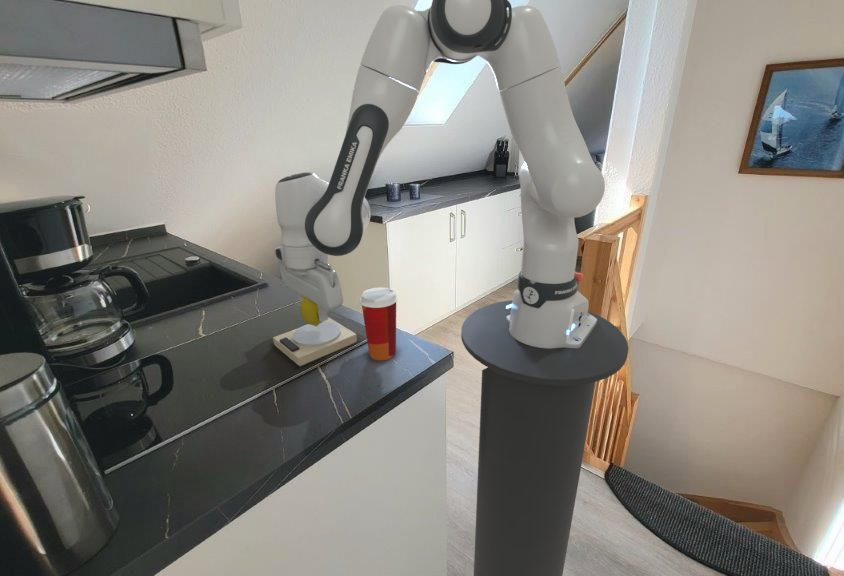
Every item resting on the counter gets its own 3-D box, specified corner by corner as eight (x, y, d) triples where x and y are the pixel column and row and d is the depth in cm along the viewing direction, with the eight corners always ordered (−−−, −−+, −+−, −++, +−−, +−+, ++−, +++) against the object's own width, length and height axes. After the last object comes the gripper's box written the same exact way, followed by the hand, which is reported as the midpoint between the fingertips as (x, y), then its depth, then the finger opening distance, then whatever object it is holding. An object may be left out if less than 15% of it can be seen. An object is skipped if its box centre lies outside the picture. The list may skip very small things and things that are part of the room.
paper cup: (389, 340, 91) (386, 283, 86) (407, 355, 86) (404, 295, 80) (357, 351, 87) (352, 292, 82) (374, 367, 82) (368, 305, 76)
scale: (329, 324, 99) (328, 314, 98) (357, 341, 91) (356, 331, 90) (274, 345, 90) (272, 335, 89) (299, 366, 82) (297, 355, 81)
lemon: (333, 322, 91) (329, 289, 88) (320, 333, 86) (315, 299, 83) (312, 319, 93) (307, 286, 90) (298, 330, 88) (292, 296, 85)
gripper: (347, 262, 78) (353, 325, 84) (297, 242, 92) (305, 297, 97) (317, 270, 74) (326, 336, 80) (270, 248, 88) (280, 305, 93)
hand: (314, 314), depth 88 cm, fingers closed on lemon, 5 cm apart
